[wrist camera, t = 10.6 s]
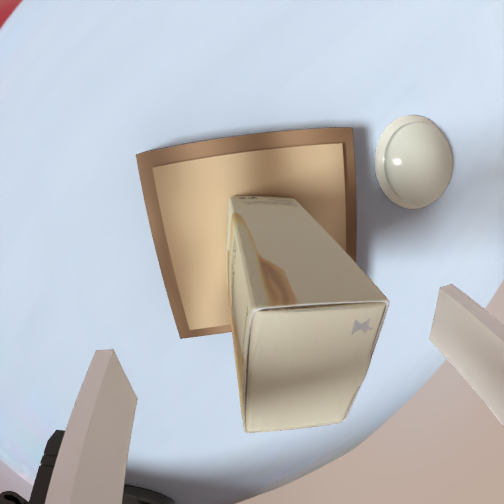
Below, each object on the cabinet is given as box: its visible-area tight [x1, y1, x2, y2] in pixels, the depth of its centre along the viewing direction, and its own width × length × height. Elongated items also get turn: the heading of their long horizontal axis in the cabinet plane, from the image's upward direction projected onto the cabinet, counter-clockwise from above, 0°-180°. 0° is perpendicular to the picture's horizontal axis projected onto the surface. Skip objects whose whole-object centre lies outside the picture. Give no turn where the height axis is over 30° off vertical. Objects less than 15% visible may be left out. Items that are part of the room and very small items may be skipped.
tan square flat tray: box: [136, 127, 356, 339], centre depth 22 cm, size 14×14×3 cm
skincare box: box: [226, 196, 389, 433], centre depth 15 cm, size 6×4×12 cm
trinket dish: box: [375, 115, 453, 209], centre depth 22 cm, size 8×8×2 cm
